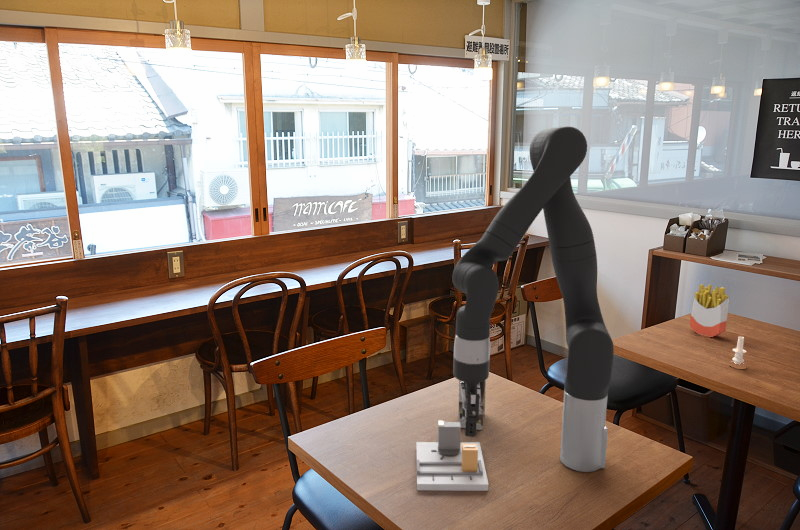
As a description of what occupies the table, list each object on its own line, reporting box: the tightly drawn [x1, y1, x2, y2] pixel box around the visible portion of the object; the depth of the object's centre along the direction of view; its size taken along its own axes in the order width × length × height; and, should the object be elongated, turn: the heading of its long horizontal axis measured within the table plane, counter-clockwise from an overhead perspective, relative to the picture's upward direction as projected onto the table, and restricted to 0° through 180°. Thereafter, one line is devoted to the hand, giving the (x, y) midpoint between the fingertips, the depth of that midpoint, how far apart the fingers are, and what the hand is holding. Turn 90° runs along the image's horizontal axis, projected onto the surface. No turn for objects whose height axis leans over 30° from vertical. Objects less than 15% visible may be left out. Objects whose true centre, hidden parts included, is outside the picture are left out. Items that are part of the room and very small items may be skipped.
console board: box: [415, 441, 489, 492], centre depth 135 cm, size 15×17×2 cm
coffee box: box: [457, 379, 487, 431], centre depth 154 cm, size 9×6×16 cm
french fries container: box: [689, 284, 730, 338], centre depth 215 cm, size 5×11×18 cm, turn 33°
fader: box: [462, 444, 478, 472], centre depth 131 cm, size 3×3×5 cm
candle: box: [732, 335, 747, 365], centre depth 188 cm, size 5×5×10 cm
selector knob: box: [437, 419, 462, 456], centre depth 138 cm, size 5×5×7 cm
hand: (468, 425), depth 129 cm, fingers open, 8 cm apart
